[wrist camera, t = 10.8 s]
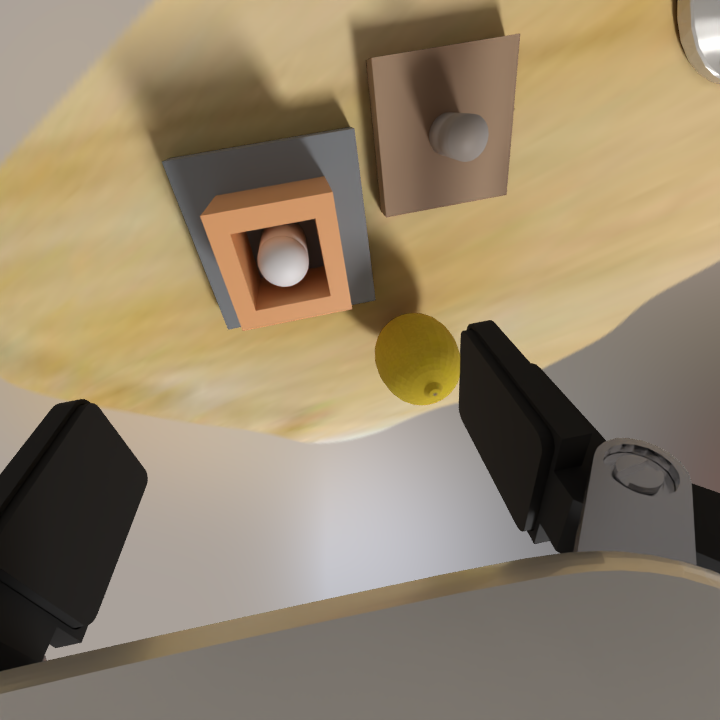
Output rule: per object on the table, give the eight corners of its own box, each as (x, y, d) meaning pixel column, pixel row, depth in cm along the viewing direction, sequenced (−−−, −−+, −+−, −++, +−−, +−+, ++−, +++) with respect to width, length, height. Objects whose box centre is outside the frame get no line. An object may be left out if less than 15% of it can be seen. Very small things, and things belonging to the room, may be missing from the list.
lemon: (354, 346, 29) (373, 416, 22) (388, 284, 27) (421, 342, 20) (413, 366, 31) (447, 436, 25) (450, 310, 29) (498, 371, 22)
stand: (505, 38, 20) (555, 22, 16) (495, 190, 24) (532, 205, 20) (366, 60, 19) (384, 50, 16) (381, 211, 24) (398, 231, 20)
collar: (324, 176, 21) (332, 192, 17) (342, 277, 24) (352, 309, 20) (215, 195, 20) (199, 216, 17) (249, 295, 24) (242, 330, 20)
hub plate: (350, 127, 21) (371, 134, 16) (371, 291, 27) (391, 336, 21) (169, 158, 20) (129, 176, 15) (231, 318, 26) (217, 371, 21)
